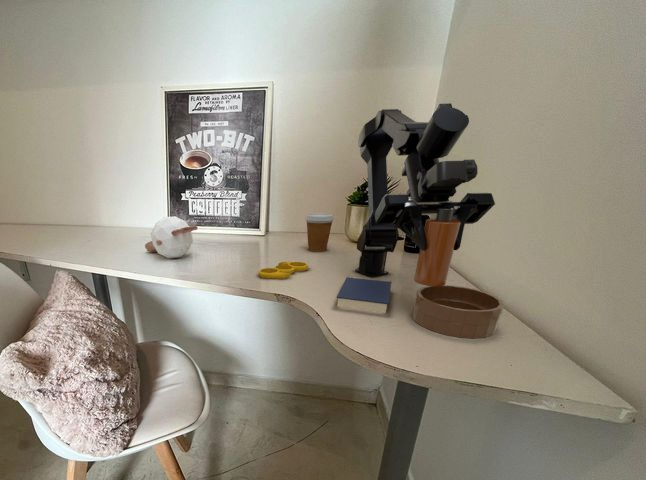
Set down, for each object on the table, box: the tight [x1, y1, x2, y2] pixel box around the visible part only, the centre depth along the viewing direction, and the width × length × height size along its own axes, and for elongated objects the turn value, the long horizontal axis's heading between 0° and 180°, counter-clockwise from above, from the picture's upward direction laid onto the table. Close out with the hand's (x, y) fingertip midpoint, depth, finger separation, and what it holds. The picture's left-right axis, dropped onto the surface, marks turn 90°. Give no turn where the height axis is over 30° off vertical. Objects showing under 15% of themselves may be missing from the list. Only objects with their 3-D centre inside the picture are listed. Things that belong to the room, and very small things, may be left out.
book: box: [336, 276, 392, 314], centre depth 73 cm, size 14×10×3 cm
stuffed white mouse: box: [144, 216, 198, 259], centre depth 110 cm, size 14×25×14 cm, turn 51°
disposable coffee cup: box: [305, 213, 334, 253], centre depth 116 cm, size 10×10×12 cm
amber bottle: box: [413, 208, 461, 286], centre depth 59 cm, size 5×5×13 cm
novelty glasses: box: [258, 261, 309, 280], centre depth 94 cm, size 17×2×10 cm
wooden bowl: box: [411, 284, 505, 339], centre depth 61 cm, size 13×13×6 cm
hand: (440, 249), depth 58 cm, fingers closed on amber bottle, 5 cm apart
